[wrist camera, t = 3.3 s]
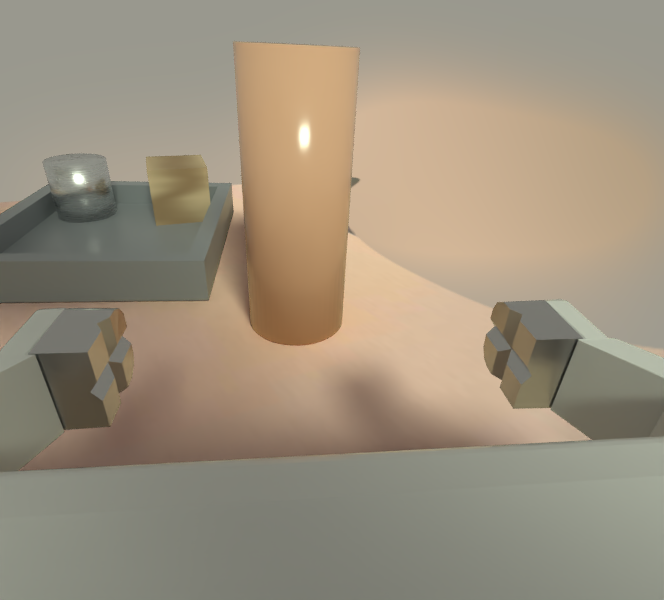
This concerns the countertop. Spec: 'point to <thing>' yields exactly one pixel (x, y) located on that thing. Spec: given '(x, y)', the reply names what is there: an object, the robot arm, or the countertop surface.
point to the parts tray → (111, 250)
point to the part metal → (80, 187)
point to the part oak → (178, 188)
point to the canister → (296, 183)
